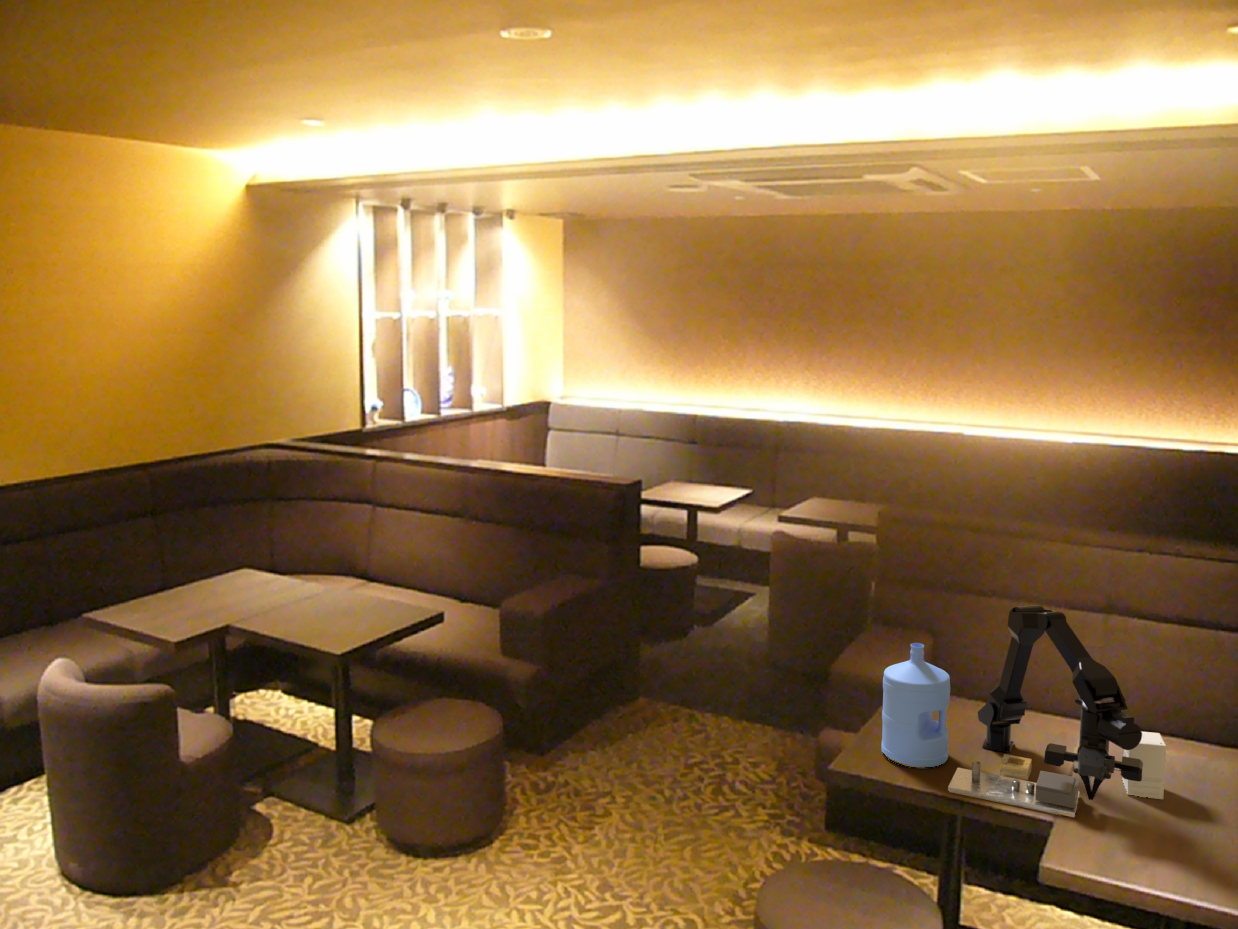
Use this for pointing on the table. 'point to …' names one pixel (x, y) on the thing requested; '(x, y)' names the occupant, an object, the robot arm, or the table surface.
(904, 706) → the water jug
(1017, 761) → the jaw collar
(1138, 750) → the supplement box
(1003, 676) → the robot arm
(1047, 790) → the box
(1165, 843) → the table surface
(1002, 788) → the pin plate
